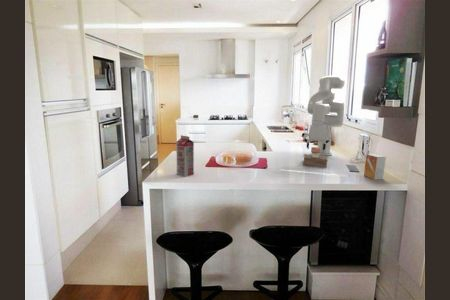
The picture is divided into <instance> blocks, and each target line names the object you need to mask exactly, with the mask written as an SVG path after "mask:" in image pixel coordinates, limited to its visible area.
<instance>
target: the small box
mask: <svg viewBox="0 0 450 300" xmlns="http://www.w3.org/2000/svg"><path fill="white" fill-rule="evenodd" d="M386 159H387V156H385V155H381V154H377V153H367V154H366V155H365V165H364V171H363V176H365V177H368V178H370V179H372V180H383V179H384V174H385V165H386Z"/></svg>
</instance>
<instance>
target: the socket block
mask: <svg viewBox="0 0 450 300" xmlns="http://www.w3.org/2000/svg"><path fill="white" fill-rule="evenodd" d="M327 164H328V159H327V156H325V155H319V158H314V157H312V153H311V154H310V153H308V154H306V153H304V154H303V167H314V168H325V169H326V168H327Z"/></svg>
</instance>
